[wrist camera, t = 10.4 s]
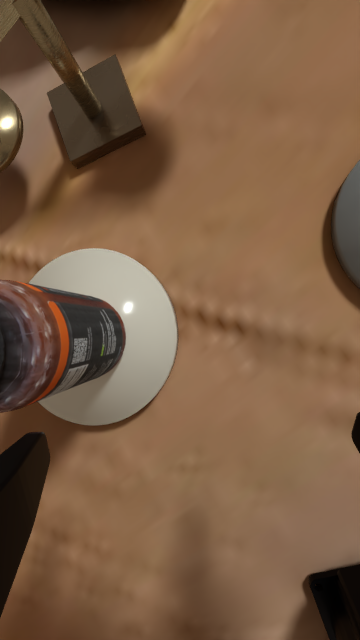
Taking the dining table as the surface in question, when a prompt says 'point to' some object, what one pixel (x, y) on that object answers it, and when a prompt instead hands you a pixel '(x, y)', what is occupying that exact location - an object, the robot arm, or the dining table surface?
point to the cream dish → (140, 326)
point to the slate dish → (348, 225)
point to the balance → (70, 94)
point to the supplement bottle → (53, 342)
